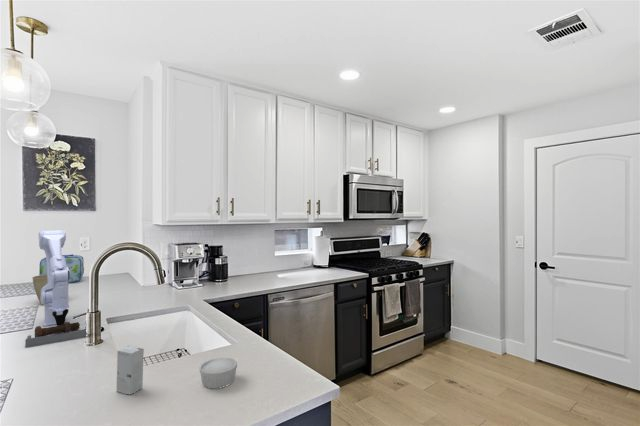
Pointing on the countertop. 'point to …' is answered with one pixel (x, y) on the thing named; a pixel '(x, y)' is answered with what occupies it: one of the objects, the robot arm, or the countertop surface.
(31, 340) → the bracket
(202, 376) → the ramekin
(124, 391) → the skincare box
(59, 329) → the bolt
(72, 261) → the lunch box
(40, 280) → the plant pot
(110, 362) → the countertop surface
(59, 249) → the robot arm
